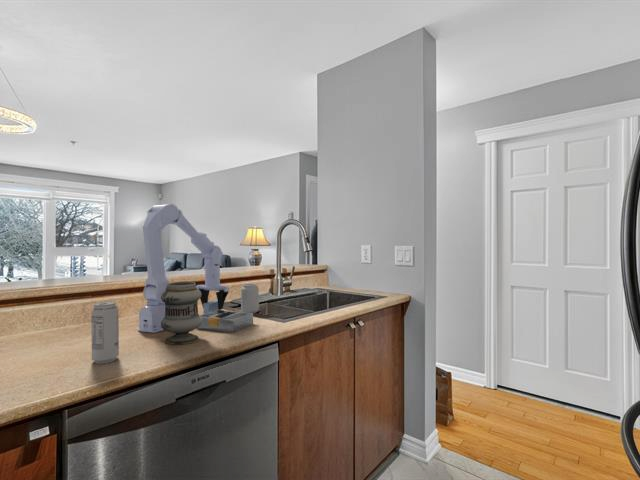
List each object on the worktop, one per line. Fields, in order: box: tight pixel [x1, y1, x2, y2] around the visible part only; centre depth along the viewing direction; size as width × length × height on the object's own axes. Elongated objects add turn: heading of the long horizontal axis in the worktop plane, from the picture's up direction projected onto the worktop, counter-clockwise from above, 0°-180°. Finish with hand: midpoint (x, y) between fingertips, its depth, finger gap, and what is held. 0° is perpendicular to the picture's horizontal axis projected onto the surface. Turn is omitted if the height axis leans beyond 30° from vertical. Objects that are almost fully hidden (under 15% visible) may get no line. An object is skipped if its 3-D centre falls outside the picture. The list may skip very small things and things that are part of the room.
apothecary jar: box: [161, 280, 202, 346], centre depth 108 cm, size 12×12×18 cm
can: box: [240, 283, 260, 314], centre depth 148 cm, size 8×8×12 cm
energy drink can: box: [90, 301, 120, 365], centre depth 91 cm, size 6×6×15 cm
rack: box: [197, 309, 254, 333], centre depth 125 cm, size 13×16×4 cm
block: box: [202, 299, 223, 314], centre depth 140 cm, size 8×3×6 cm, turn 159°
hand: (212, 308), depth 140 cm, fingers open, 7 cm apart
